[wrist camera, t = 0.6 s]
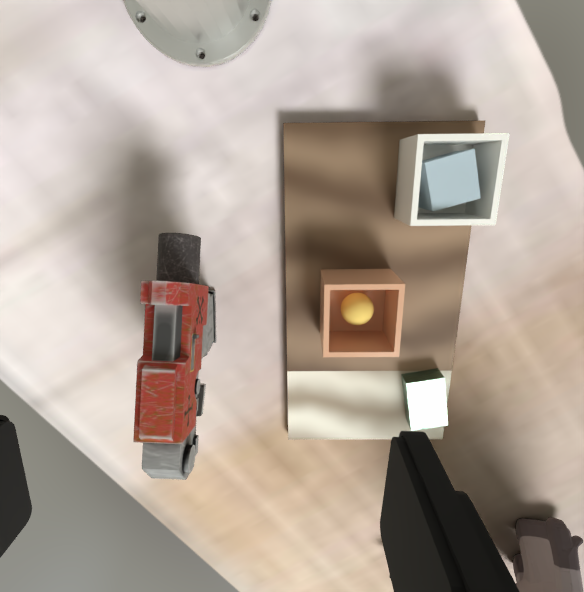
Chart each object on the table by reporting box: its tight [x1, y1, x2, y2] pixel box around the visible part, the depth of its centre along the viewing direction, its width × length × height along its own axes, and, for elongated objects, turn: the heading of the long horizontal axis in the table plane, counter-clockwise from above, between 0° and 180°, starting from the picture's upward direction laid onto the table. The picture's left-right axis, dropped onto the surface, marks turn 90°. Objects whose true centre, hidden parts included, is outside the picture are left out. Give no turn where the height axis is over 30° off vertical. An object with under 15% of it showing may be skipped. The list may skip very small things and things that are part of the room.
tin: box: [401, 368, 448, 431], centre depth 42 cm, size 6×4×2 cm, turn 11°
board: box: [283, 121, 485, 440], centre depth 40 cm, size 34×18×1 cm, turn 1°
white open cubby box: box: [394, 133, 510, 226], centre depth 33 cm, size 7×7×6 cm
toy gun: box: [134, 233, 216, 480], centre depth 35 cm, size 4×20×15 cm, turn 178°
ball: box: [341, 293, 374, 325], centre depth 38 cm, size 3×3×3 cm
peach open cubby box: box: [320, 269, 405, 357], centre depth 37 cm, size 7×7×6 cm
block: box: [418, 149, 481, 211], centre depth 33 cm, size 4×4×4 cm
